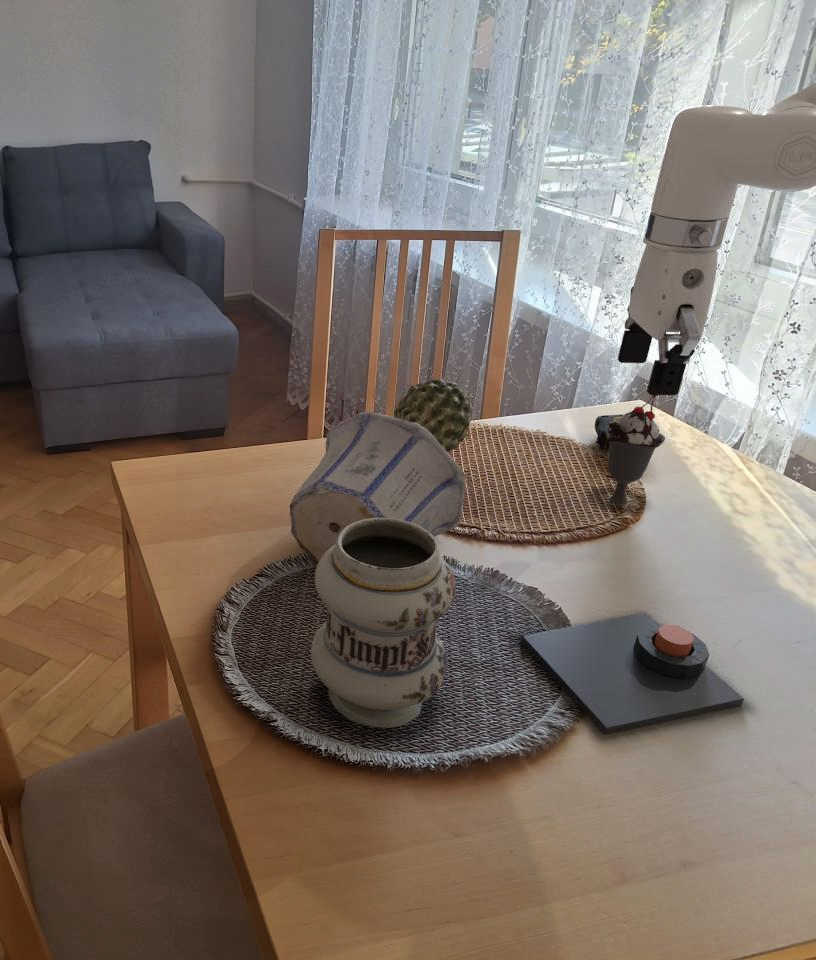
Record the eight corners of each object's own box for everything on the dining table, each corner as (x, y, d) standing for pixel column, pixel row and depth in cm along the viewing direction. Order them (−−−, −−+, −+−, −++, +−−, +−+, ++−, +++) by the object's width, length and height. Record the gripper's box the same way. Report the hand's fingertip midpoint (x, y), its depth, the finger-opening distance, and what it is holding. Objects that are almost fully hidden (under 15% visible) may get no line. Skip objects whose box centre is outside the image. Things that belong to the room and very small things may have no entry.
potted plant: (415, 507, 83) (524, 347, 100) (259, 466, 93) (381, 327, 110) (422, 627, 94) (520, 464, 110) (282, 578, 104) (390, 436, 121)
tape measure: (591, 432, 128) (596, 409, 126) (643, 438, 125) (648, 415, 124) (593, 453, 122) (598, 429, 120) (647, 459, 120) (653, 435, 118)
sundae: (648, 499, 111) (676, 391, 103) (642, 523, 106) (672, 412, 98) (592, 487, 114) (616, 382, 106) (585, 511, 109) (609, 402, 101)
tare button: (674, 634, 83) (678, 622, 82) (697, 654, 81) (701, 641, 80) (647, 640, 83) (650, 627, 82) (669, 660, 80) (673, 647, 79)
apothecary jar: (325, 648, 87) (335, 495, 79) (447, 676, 83) (472, 518, 74) (293, 730, 78) (300, 567, 69) (429, 767, 74) (455, 597, 65)
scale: (645, 623, 89) (652, 599, 87) (743, 711, 78) (754, 684, 76) (519, 647, 86) (524, 622, 85) (602, 741, 75) (610, 714, 74)
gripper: (759, 251, 85) (711, 408, 93) (688, 213, 100) (652, 351, 108) (679, 251, 86) (638, 407, 94) (620, 213, 101) (589, 350, 109)
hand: (645, 377), depth 101 cm, fingers open, 9 cm apart
